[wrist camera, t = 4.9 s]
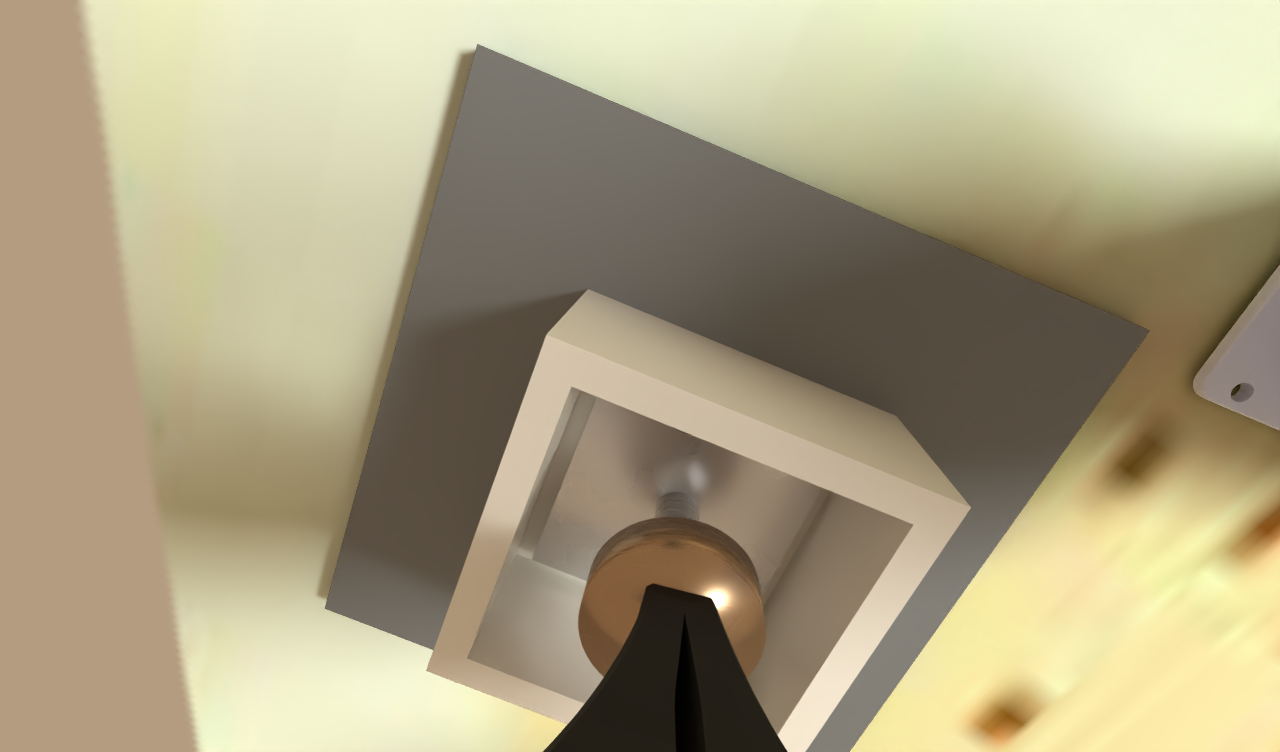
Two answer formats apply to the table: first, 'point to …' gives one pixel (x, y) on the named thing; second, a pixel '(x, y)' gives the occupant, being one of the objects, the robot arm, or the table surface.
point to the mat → (709, 306)
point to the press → (738, 421)
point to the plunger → (668, 528)
